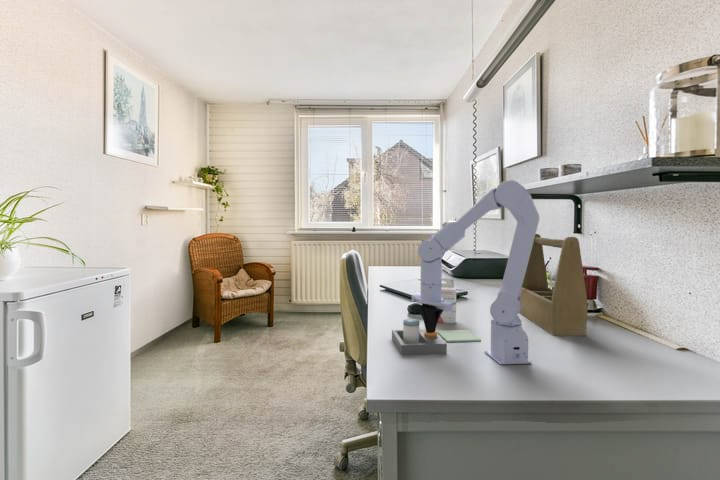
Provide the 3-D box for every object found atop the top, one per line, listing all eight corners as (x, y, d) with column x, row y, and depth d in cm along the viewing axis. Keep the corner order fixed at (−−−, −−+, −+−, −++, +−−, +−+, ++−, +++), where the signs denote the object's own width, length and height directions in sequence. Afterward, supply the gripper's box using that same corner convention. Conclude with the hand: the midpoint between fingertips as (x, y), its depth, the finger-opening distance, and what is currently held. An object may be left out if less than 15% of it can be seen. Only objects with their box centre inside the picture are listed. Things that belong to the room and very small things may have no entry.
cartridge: (421, 348, 104) (421, 322, 104) (405, 348, 104) (405, 323, 103) (417, 343, 108) (417, 318, 108) (401, 343, 108) (401, 319, 108)
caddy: (588, 336, 115) (590, 236, 113) (551, 335, 115) (553, 236, 114) (546, 313, 144) (548, 233, 143) (517, 313, 145) (519, 233, 143)
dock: (446, 353, 100) (446, 343, 100) (401, 354, 99) (401, 345, 99) (431, 337, 114) (431, 329, 114) (391, 338, 113) (391, 330, 112)
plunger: (438, 343, 105) (439, 333, 105) (426, 344, 105) (426, 334, 104) (435, 339, 108) (435, 330, 108) (422, 340, 108) (422, 330, 108)
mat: (480, 341, 110) (480, 339, 110) (446, 342, 109) (446, 340, 109) (467, 331, 120) (467, 329, 120) (436, 332, 119) (436, 330, 119)
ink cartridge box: (430, 322, 130) (431, 279, 130) (429, 319, 135) (429, 277, 135) (456, 323, 130) (456, 280, 129) (454, 319, 134) (454, 278, 134)
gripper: (460, 285, 102) (460, 336, 102) (424, 279, 114) (424, 324, 115) (441, 288, 98) (440, 340, 99) (405, 280, 110) (405, 327, 111)
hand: (430, 332), depth 106 cm, fingers closed, pressing on plunger
